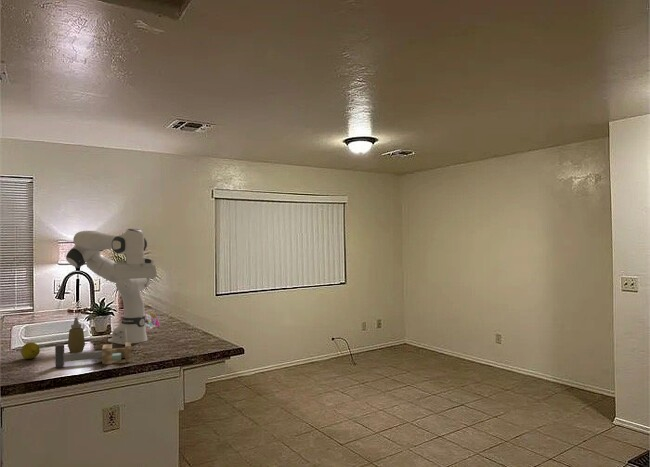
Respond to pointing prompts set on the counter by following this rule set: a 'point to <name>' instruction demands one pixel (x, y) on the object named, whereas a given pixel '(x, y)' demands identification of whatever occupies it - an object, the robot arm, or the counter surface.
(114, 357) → the spacer
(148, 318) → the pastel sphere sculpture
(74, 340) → the squeeze bottle
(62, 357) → the grey mallet
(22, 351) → the lemon
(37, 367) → the counter surface
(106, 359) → the bearing block
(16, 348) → the counter surface
